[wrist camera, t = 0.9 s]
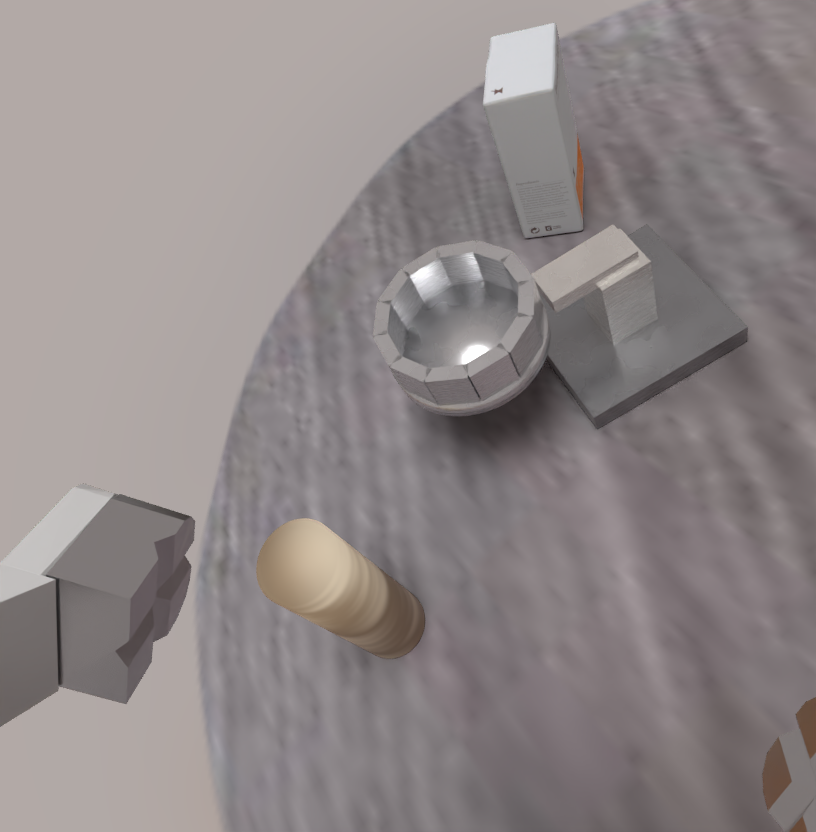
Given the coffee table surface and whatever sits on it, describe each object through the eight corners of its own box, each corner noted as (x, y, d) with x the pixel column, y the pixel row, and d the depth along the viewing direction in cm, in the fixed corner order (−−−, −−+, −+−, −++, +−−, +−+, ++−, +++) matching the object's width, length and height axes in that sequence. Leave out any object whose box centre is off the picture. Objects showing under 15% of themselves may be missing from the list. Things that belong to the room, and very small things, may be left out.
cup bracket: (648, 239, 50) (634, 113, 41) (746, 341, 44) (753, 220, 35) (408, 384, 51) (344, 292, 42) (473, 502, 45) (415, 423, 37)
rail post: (408, 576, 44) (319, 502, 35) (436, 636, 42) (350, 576, 32) (350, 609, 45) (246, 546, 35) (375, 671, 43) (271, 622, 33)
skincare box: (585, 232, 52) (553, 90, 42) (524, 240, 53) (479, 105, 43) (586, 166, 54) (557, 18, 45) (527, 176, 56) (487, 35, 46)
